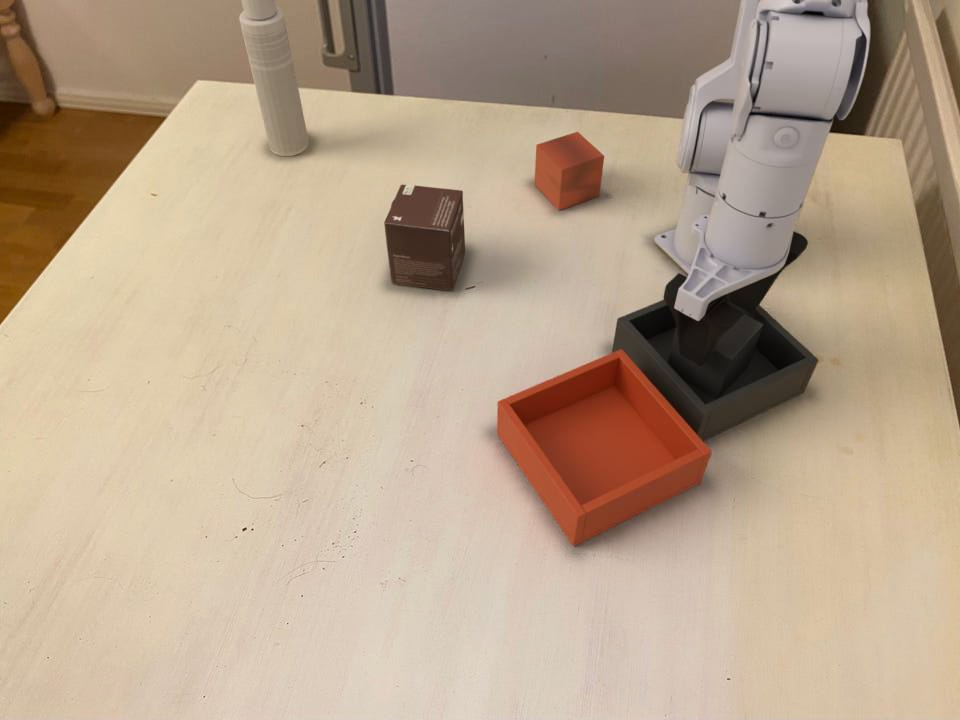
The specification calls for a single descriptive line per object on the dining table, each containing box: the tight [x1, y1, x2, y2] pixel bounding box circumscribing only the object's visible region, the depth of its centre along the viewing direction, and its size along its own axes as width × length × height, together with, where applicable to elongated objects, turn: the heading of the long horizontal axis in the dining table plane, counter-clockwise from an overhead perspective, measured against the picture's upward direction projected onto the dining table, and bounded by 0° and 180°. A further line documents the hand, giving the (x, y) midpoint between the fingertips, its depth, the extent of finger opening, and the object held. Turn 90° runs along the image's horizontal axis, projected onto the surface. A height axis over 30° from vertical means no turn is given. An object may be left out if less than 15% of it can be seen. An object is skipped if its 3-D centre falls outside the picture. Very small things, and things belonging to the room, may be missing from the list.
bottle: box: [238, 0, 310, 157], centre depth 84 cm, size 4×4×20 cm
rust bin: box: [496, 349, 712, 547], centre depth 61 cm, size 11×11×4 cm
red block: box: [533, 131, 605, 211], centre depth 84 cm, size 5×5×5 cm
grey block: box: [668, 314, 763, 399], centre depth 66 cm, size 5×5×5 cm
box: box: [383, 184, 466, 291], centre depth 75 cm, size 6×6×7 cm
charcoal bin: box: [611, 293, 820, 442], centre depth 67 cm, size 11×11×4 cm
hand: (718, 330), depth 65 cm, fingers open, 7 cm apart
